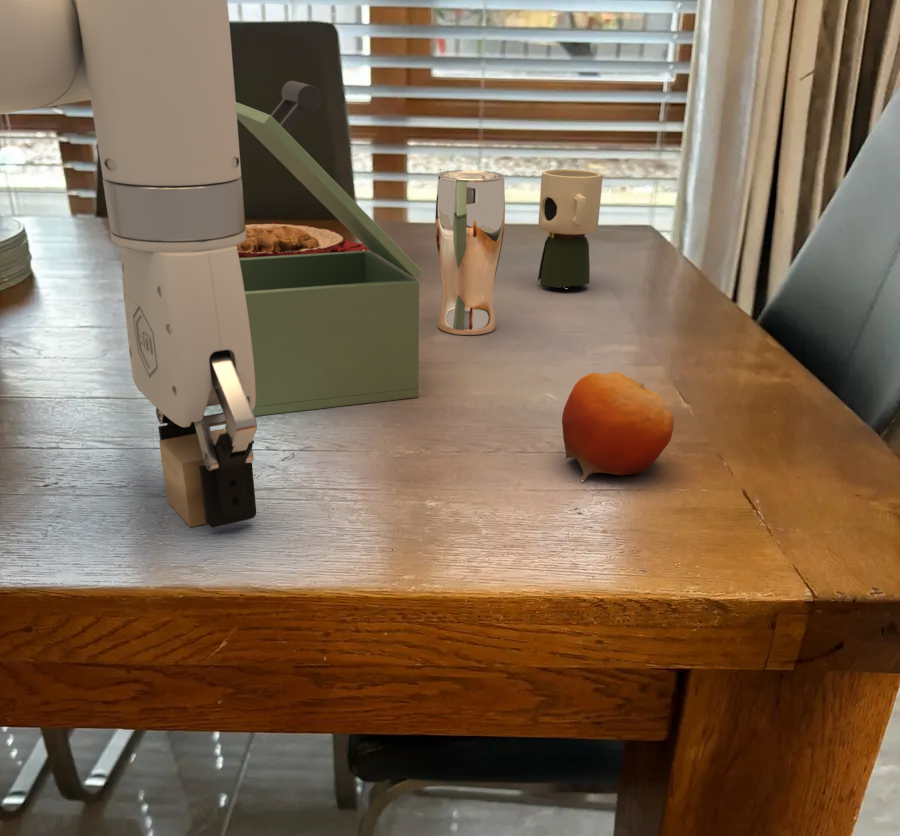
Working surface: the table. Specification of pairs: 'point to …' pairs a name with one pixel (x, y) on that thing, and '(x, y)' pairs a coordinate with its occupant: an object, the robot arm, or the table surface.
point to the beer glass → (469, 247)
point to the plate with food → (292, 241)
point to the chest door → (318, 170)
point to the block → (185, 475)
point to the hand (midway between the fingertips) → (209, 497)
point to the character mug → (568, 224)
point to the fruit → (615, 425)
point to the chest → (331, 330)
